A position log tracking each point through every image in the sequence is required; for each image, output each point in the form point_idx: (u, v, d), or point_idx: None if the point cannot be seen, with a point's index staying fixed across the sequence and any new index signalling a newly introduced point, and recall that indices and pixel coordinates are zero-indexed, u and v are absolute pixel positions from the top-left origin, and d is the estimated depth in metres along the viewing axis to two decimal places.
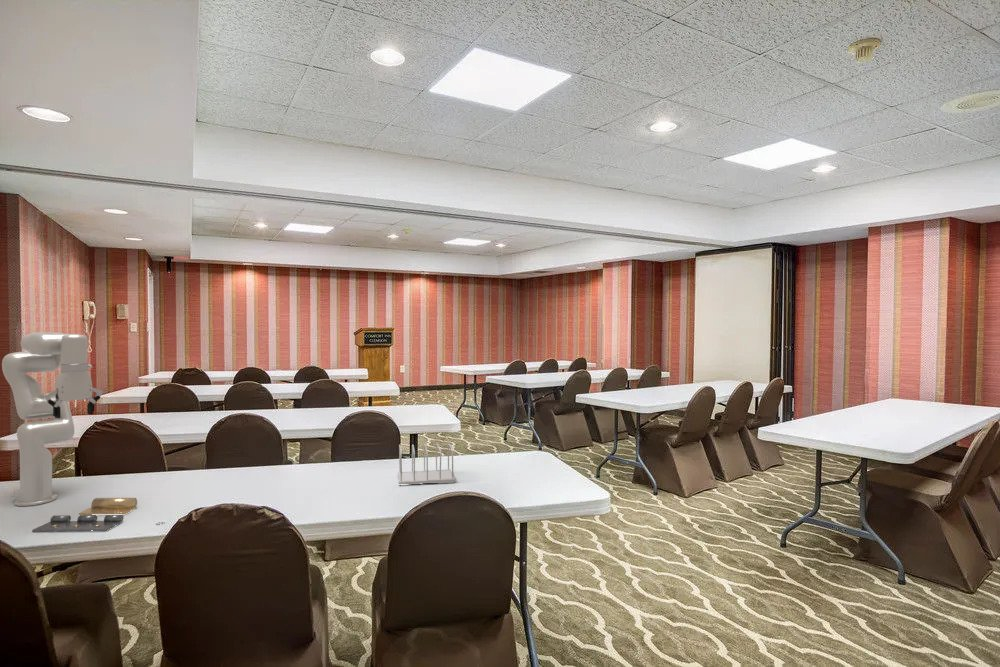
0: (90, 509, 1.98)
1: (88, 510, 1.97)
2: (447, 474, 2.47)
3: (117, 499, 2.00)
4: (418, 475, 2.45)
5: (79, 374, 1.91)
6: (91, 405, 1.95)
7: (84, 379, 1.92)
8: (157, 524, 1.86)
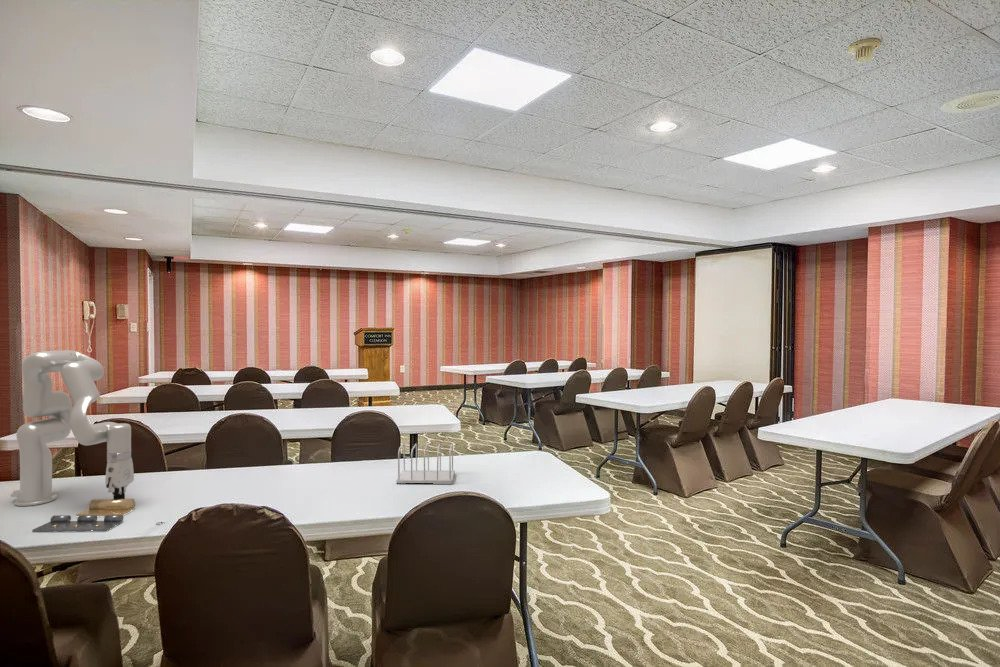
0: (88, 510, 1.97)
1: (85, 511, 1.95)
2: (448, 475, 2.46)
3: (115, 500, 1.99)
4: (419, 474, 2.46)
5: None
6: None
7: None
8: (157, 524, 1.86)
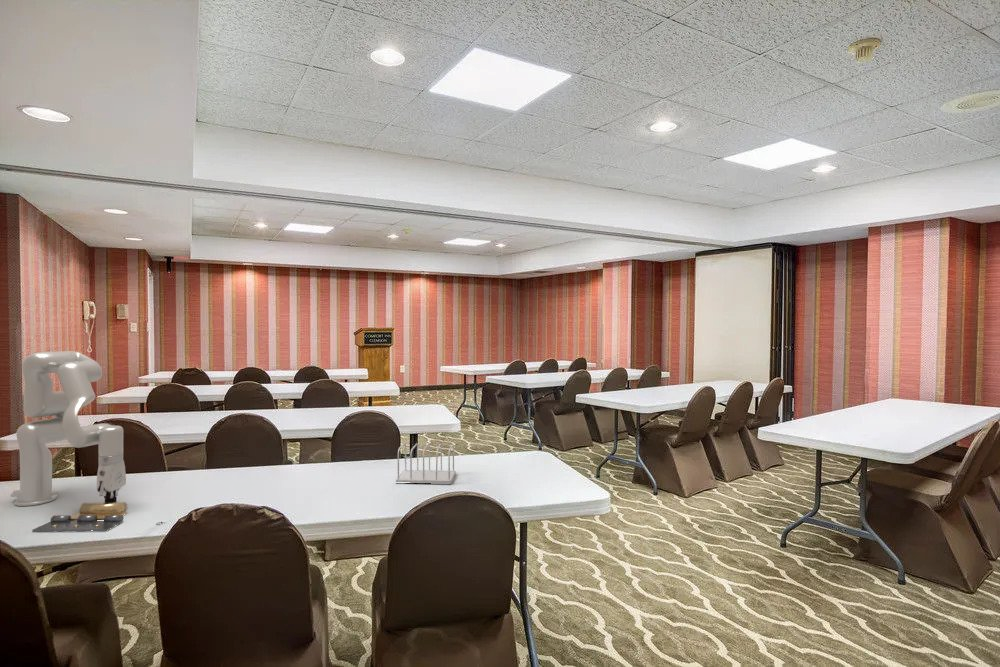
0: (78, 514, 1.92)
1: (76, 515, 1.91)
2: (448, 475, 2.45)
3: (106, 504, 1.94)
4: (419, 474, 2.47)
5: None
6: None
7: None
8: (157, 524, 1.86)
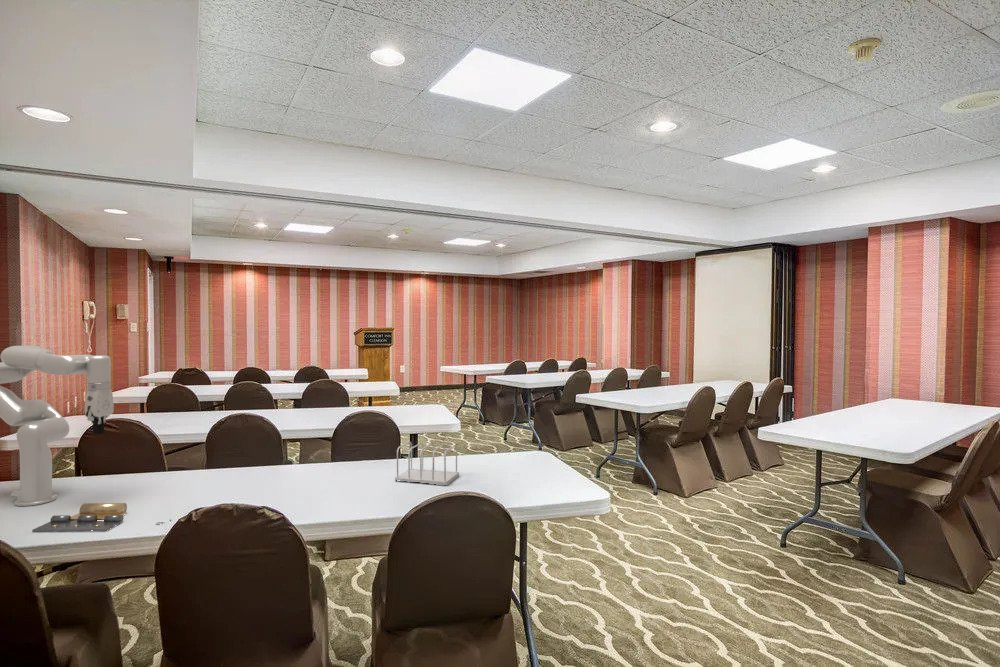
0: (78, 514, 1.92)
1: (76, 516, 1.91)
2: (447, 476, 2.44)
3: (106, 504, 1.94)
4: (421, 474, 2.48)
5: None
6: None
7: None
8: (157, 524, 1.86)
